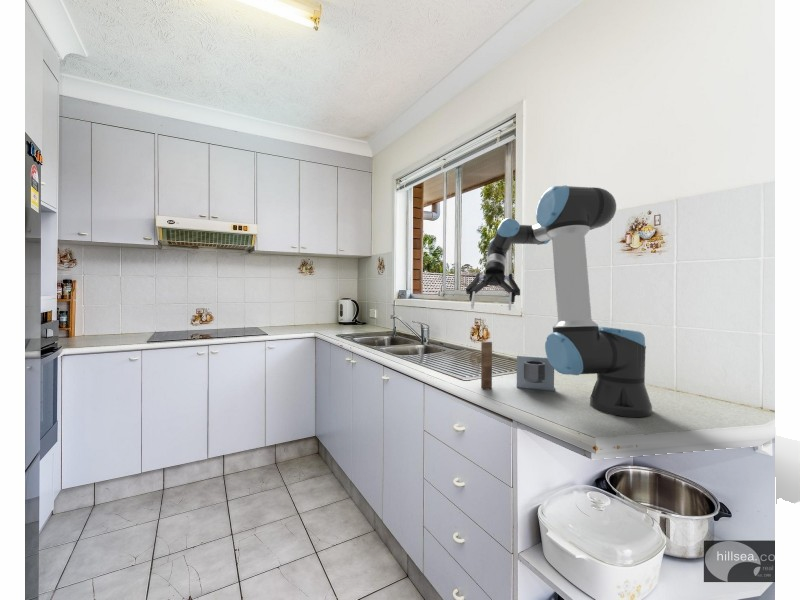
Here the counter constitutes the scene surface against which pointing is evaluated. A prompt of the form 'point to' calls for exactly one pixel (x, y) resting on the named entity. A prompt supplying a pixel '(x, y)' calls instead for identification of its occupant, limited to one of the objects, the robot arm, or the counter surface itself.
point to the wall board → (525, 384)
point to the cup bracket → (534, 371)
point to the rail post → (486, 365)
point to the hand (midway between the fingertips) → (490, 307)
